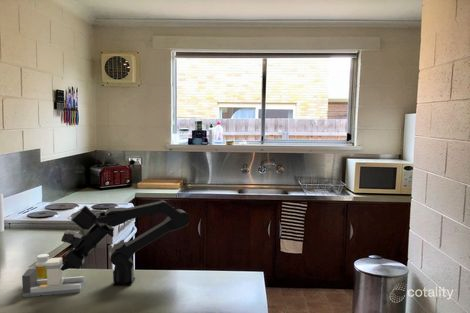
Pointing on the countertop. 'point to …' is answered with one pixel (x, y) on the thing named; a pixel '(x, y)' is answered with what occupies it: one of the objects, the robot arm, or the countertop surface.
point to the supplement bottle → (41, 266)
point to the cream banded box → (54, 271)
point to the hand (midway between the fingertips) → (61, 269)
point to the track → (40, 286)
